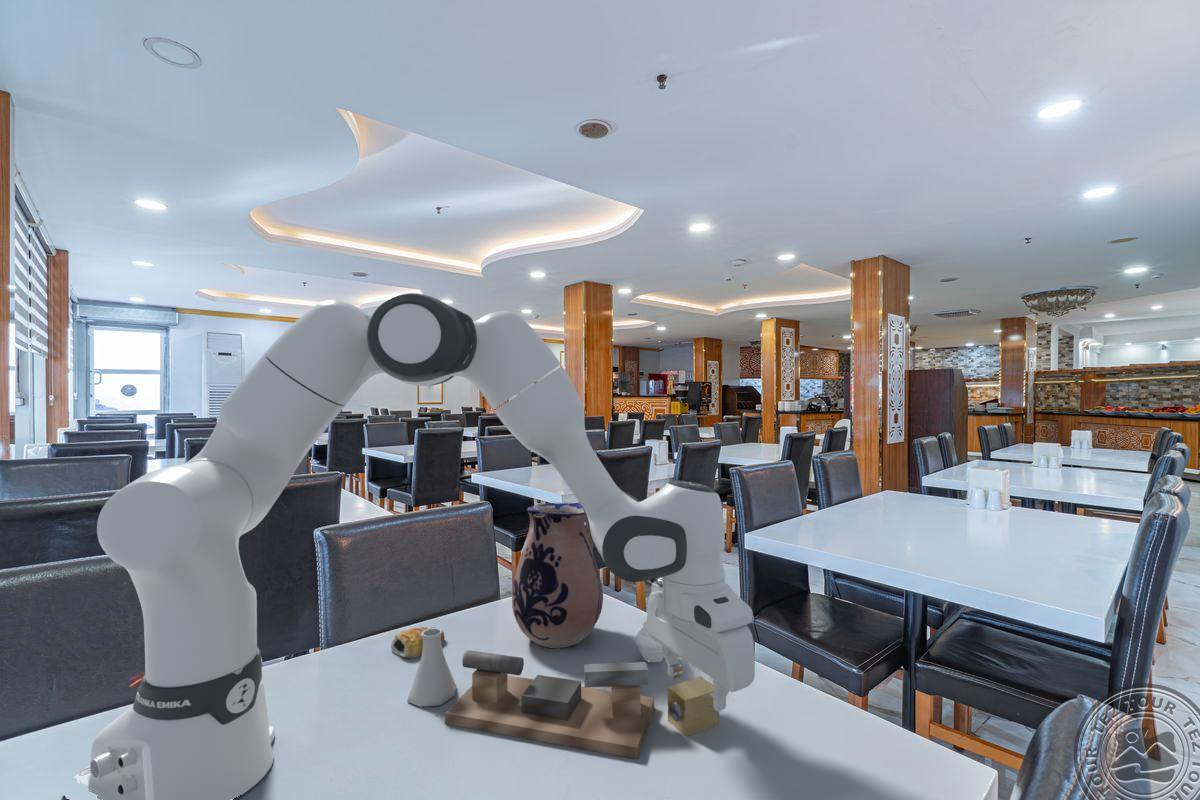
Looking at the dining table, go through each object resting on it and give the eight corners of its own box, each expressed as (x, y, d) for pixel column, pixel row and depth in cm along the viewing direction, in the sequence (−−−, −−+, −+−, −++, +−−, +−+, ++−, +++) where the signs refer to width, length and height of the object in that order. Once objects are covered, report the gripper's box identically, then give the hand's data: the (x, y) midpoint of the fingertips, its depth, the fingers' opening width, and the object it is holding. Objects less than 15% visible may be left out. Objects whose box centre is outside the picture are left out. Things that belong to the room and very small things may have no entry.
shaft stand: (445, 723, 78) (444, 669, 78) (485, 681, 89) (485, 634, 89) (637, 759, 70) (636, 699, 70) (654, 707, 81) (654, 656, 81)
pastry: (431, 634, 107) (431, 615, 107) (452, 644, 103) (452, 624, 103) (387, 652, 100) (387, 631, 100) (408, 663, 96) (407, 642, 96)
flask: (442, 711, 81) (442, 644, 81) (398, 706, 82) (398, 640, 82) (464, 685, 88) (463, 624, 88) (423, 681, 90) (422, 620, 89)
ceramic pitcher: (493, 649, 101) (493, 514, 100) (548, 608, 120) (547, 494, 120) (580, 667, 94) (579, 522, 94) (623, 620, 113) (622, 500, 113)
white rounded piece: (628, 659, 97) (628, 619, 96) (649, 647, 101) (649, 609, 101) (657, 671, 92) (657, 629, 92) (677, 658, 97) (677, 618, 97)
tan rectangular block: (683, 737, 75) (683, 701, 75) (666, 722, 78) (666, 687, 78) (720, 723, 78) (720, 688, 78) (702, 709, 81) (702, 675, 81)
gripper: (635, 577, 85) (637, 665, 86) (724, 625, 67) (726, 736, 68) (668, 571, 88) (670, 656, 89) (762, 614, 70) (763, 721, 71)
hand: (695, 691), depth 78 cm, fingers open, 8 cm apart
